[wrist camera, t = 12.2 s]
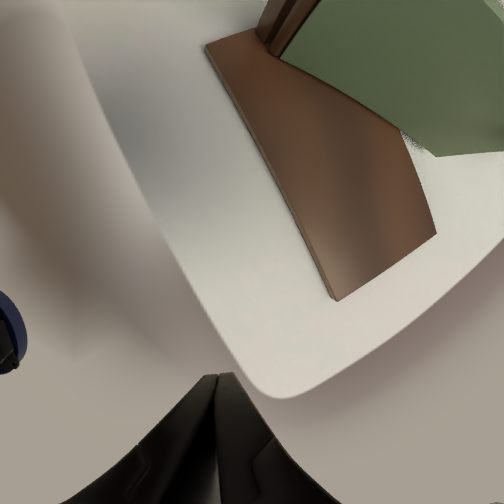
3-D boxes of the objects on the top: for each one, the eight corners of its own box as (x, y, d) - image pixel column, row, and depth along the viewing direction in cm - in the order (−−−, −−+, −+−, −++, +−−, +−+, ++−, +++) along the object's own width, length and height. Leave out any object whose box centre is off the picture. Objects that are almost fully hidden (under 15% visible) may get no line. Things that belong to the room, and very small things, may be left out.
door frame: (331, 298, 22) (498, 420, 7) (204, 51, 17) (238, -144, 3) (429, 232, 23) (597, 269, 8) (325, 14, 18) (445, -106, 3)
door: (430, 179, 20) (582, 180, 8) (254, 75, 17) (346, -72, 4) (439, 146, 20) (583, 132, 8) (272, 42, 17) (365, -99, 4)
